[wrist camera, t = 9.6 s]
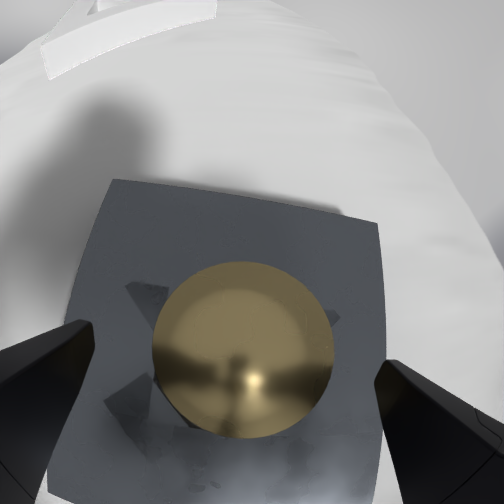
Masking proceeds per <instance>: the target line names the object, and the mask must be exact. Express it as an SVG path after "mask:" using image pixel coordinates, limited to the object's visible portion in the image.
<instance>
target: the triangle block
mask: <svg viewBox="0 0 504 504" xmlns="http://www.w3.org/2000/svg"><path fill="white" fill-rule="evenodd" d="M216 8H217V0H76V1H75V2H74V3H73V5H72V6H71V7H70V8H69V9H68V10H67V12H66V13H65V14H64V15H63V17H62V18H61V19H60V20H59V22H58V23H57V24H56V25H55V27H54V28H53V29H52V31H51V32H50V33H49V35H48V36H47V37H46V39H45V40H44V42H43V43H42V45H41V46H40V49H41V53H42V57H43V61H44V65H45V68H46V72H47V76H48V79H49V81H50V80H52V79H53V78H55V77H57V76H59V75H60V74H62V73H64V72H66V71H68V70H70V69H72V68H74V67H76V66H78V65H80V64H82V63H84V62H86V61H88V60H90V59H92V58H94V57H96V56H99V55H101V54H103V53H105V52H108V51H110V50H113V49H115V48H117V47H120V46H122V45H125V44H128V43H130V42H133V41H136V40H138V39H141V38H144V37H147V36H150V35H153V34H156V33H159V32H162V31H166V30H169V29H172V28H176V27H179V26H183V25H187V24H191V23H195V22H199V21H203V20H208V19H212V18H215V16H216Z"/></svg>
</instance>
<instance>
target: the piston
mask: <svg viewBox="0 0 504 504" xmlns="http://www.w3.org/2000/svg"><path fill="white" fill-rule="evenodd" d="M152 359H153V364H154V370H155V373H156V376H157V379H158V382H159V384H160V386H161V388H162V390H163V392H164V394H165V395H166V397H167V398H168V400H169V401H170V403H171V404H172V405H173V406H174V407H175V408H176V409H177V411H178V412H179V413H180V414H181V415H183V416H184V417H185V418H186V419H188V420H189V421H190V422H192V423H193V424H195V425H196V426H198V427H200V428H201V429H204V430H206V431H208V432H211V433H213V434H216V435H220V436H223V437H228V438H236V439H254V438H261V437H266V436H270V435H273V434H276V433H279V432H281V431H283V430H286V429H288V428H289V427H291V426H293V425H294V424H296V423H297V422H299V421H300V420H301V419H302V418H304V417H305V416H306V415H307V414H308V413H309V412H310V411H311V410H312V409H313V408H314V407H315V405H316V404H317V403H318V401H319V400H320V398H321V397H322V395H323V393H324V391H325V390H326V388H327V385H328V383H329V380H330V377H331V373H332V369H333V363H334V340H333V334H332V330H331V327H330V323H329V320H328V318H327V316H326V314H325V312H324V310H323V308H322V306H321V305H320V303H319V302H318V300H317V299H316V298H315V296H314V295H313V294H312V293H311V292H310V291H309V290H308V289H307V288H306V287H305V286H304V285H303V284H302V283H301V282H299V281H298V280H297V279H296V278H294V277H292V276H291V275H289V274H288V273H286V272H284V271H282V270H279V269H277V268H275V267H272V266H269V265H266V264H261V263H256V262H245V261H239V262H228V263H221V264H218V265H214V266H211V267H208V268H206V269H204V270H201V271H199V272H197V273H196V274H194V275H192V276H191V277H189V278H188V279H187V280H185V281H184V282H183V283H181V284H180V285H179V286H178V287H177V288H176V289H175V290H174V291H173V292H172V294H171V295H170V296H169V298H168V299H167V300H166V302H165V304H164V305H163V307H162V309H161V311H160V313H159V316H158V318H157V321H156V324H155V328H154V332H153V339H152Z"/></svg>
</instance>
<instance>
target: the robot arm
mask: <svg viewBox="0 0 504 504" xmlns="http://www.w3.org/2000/svg"><path fill="white" fill-rule="evenodd" d="M94 351H95V339H94V330H93V325H92V323H91V322H90V321H86V320H83V319H78V320H75V321H73V322H70V323H68V324H65V325H63V326H60V327H58V328H55V329H53V330H50V331H48V332H45V333H43V334H40V335H38V336H36V337H33V338H31V339H28V340H26V341H23V342H21V343H18V344H16V345H13V346H11V347H8V348H6V349H3V350H1V351H0V504H34V503H35V500H36V497H37V494H38V491H39V488H40V485H41V482H42V480H43V477H44V474H45V472H46V469H47V466H48V464H49V461H50V459H51V456H52V454H53V451H54V449H55V446H56V444H57V441H58V439H59V437H60V434H61V432H62V430H63V427H64V425H65V423H66V421H67V418H68V416H69V414H70V412H71V410H72V407H73V405H74V403H75V401H76V399H77V397H78V395H79V392H80V390H81V387H82V384H83V382H84V379H85V376H86V373H87V370H88V367H89V365H90V362H91V359H92V356H93V354H94ZM374 388H375V393H376V398H377V403H378V408H379V413H380V418H381V423H382V427H383V430H384V433H385V437H386V440H387V444H388V447H389V451H390V454H391V458H392V461H393V465H394V469H395V473H396V476H397V480H398V484H399V488H400V492H401V496H402V501H403V504H504V424H503V423H501V422H499V421H497V420H495V419H493V418H492V417H490V416H488V415H486V414H485V413H483V412H481V411H480V410H478V409H476V408H474V407H473V406H471V405H470V404H468V403H466V402H465V401H463V400H461V399H460V398H458V397H456V396H455V395H453V394H451V393H450V392H448V391H446V390H445V389H443V388H442V387H440V386H438V385H437V384H435V383H433V382H432V381H430V380H429V379H427V378H425V377H424V376H422V375H420V374H419V373H417V372H416V371H414V370H412V369H411V368H409V367H407V366H406V365H404V364H403V363H401V362H399V361H398V360H395V359H393V360H385V361H384V362H383V363H382V365H381V367H380V369H379V371H378V373H377V375H376V377H375V380H374Z"/></svg>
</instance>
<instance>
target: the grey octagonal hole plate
mask: <svg viewBox="0 0 504 504" xmlns="http://www.w3.org/2000/svg"><path fill="white" fill-rule="evenodd" d="M239 261H245V262H256V263H261V264H266V265H269V266H272V267H275V268H277V269H279V270H282V271H284V272H286V273H288V274H289V275H291V276H292V277H294V278H296V279H297V280H298V281H299V282H301V283H302V284H303V285H304V286H305V287H306V288H307V289H308V290H309V291H310V292H311V293H312V294H313V295H314V296H315V298H316V299H317V300H318V302H319V303H320V305H321V306H322V308H323V310H324V312H325V314H326V316H327V318H328V320H329V323H330V327H331V330H332V334H333V340H334V363H333V369H332V373H331V377H330V380H329V383H328V385H327V388H326V390H325V391H324V393H323V395H322V397H321V398H320V400H319V401H318V403H317V404H316V405H315V407H314V408H313V409H312V410H311V411H310V412H309V413H308V414H307V415H306V416H305V417H304V418H302V419H301V420H300V421H299V422H297V423H296V424H294V425H293V426H291V427H289V428H288V429H286V430H283V431H281V432H279V433H276V434H273V435H270V436H266V437H261V438H254V439H236V438H228V437H223V436H220V435H216V434H213V433H211V432H208V431H206V430H204V429H201V428H200V427H198V426H196V425H195V424H193V423H192V422H190V421H189V420H188V419H186V418H185V417H184V416H183V415H181V414H180V413H179V412H178V411H177V409H176V408H175V407H174V406H173V405H172V404H171V403H170V401H169V400H168V398H167V397H166V395H165V394H164V392H163V390H162V388H161V386H160V384H159V382H158V379H157V376H156V373H155V370H154V364H153V359H152V339H153V332H154V328H155V324H156V321H157V318H158V316H159V313H160V311H161V309H162V307H163V305H164V304H165V302H166V300H167V299H168V298H169V296H170V295H171V294H172V292H173V291H174V290H175V289H176V288H177V287H178V286H179V285H180V284H181V283H183V282H184V281H185V280H187V279H188V278H189V277H191V276H192V275H194V274H196V273H197V272H199V271H201V270H204V269H206V268H208V267H211V266H214V265H218V264H221V263H228V262H239ZM78 319H83V320H86V321H90V322H91V323H92V325H93V330H94V339H95V351H94V354H93V356H92V359H91V362H90V365H89V367H88V370H87V373H86V376H85V379H84V382H83V384H82V387H81V390H80V392H79V395H78V397H77V399H76V401H75V403H74V405H73V407H72V410H71V412H70V414H69V416H68V418H67V421H66V423H65V425H64V427H63V430H62V432H61V434H60V437H59V439H58V441H57V444H56V446H55V449H54V451H53V454H52V456H51V459H50V461H49V464H48V466H47V485H48V492H49V493H51V494H53V495H55V496H57V497H60V498H62V499H64V500H67V501H69V502H71V503H74V504H372V501H373V496H374V491H375V485H376V479H377V473H378V466H379V459H380V451H381V442H382V433H383V427H382V423H381V418H380V413H379V408H378V403H377V398H376V393H375V388H374V380H375V377H376V375H377V373H378V371H379V369H380V367H381V365H382V363H383V362H384V361H385V360H386V314H385V295H384V281H383V269H382V258H381V249H380V240H379V232H378V225H377V223H374V222H370V221H365V220H361V219H356V218H352V217H347V216H343V215H338V214H333V213H328V212H324V211H319V210H314V209H309V208H304V207H298V206H293V205H288V204H283V203H277V202H272V201H266V200H260V199H255V198H249V197H243V196H237V195H231V194H224V193H218V192H212V191H205V190H198V189H191V188H184V187H177V186H169V185H162V184H154V183H146V182H137V181H129V180H120V179H113V180H112V182H111V185H110V187H109V189H108V191H107V194H106V196H105V198H104V201H103V203H102V206H101V208H100V211H99V213H98V216H97V218H96V221H95V223H94V226H93V229H92V231H91V234H90V237H89V240H88V243H87V245H86V248H85V251H84V254H83V257H82V260H81V263H80V267H79V270H78V273H77V276H76V280H75V283H74V287H73V290H72V294H71V297H70V301H69V305H68V309H67V313H66V317H65V321H64V325H65V324H68V323H70V322H73V321H75V320H78Z"/></svg>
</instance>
